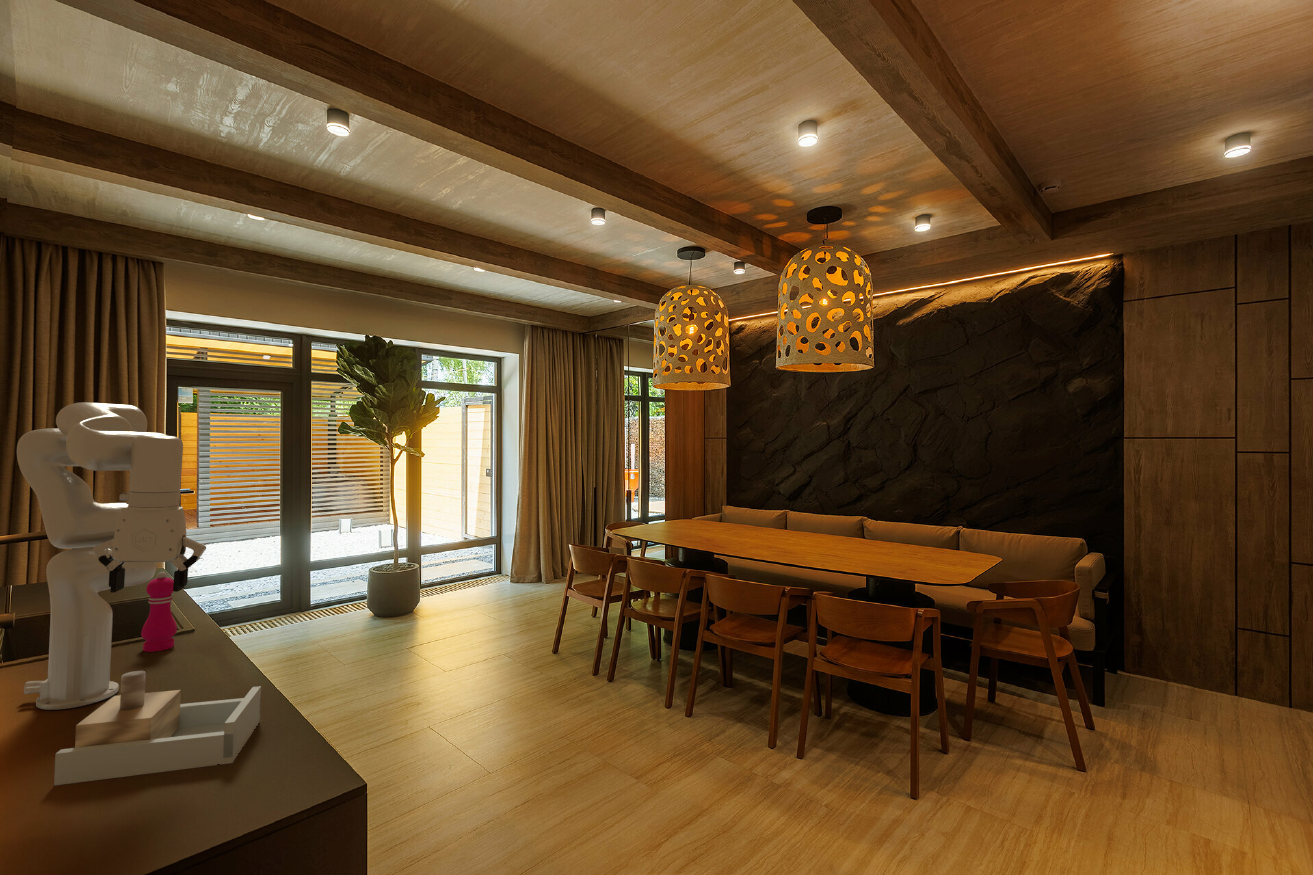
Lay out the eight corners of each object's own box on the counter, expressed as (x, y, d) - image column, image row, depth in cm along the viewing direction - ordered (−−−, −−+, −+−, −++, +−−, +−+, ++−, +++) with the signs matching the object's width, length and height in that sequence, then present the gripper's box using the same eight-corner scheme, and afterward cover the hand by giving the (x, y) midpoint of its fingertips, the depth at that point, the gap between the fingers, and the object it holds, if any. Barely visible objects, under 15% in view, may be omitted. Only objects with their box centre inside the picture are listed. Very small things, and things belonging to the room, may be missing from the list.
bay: (54, 785, 95) (56, 740, 95) (107, 738, 110) (109, 699, 110) (232, 762, 103) (234, 721, 103) (259, 721, 118) (261, 686, 118)
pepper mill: (155, 653, 153) (159, 575, 153) (133, 651, 154) (136, 573, 155) (183, 644, 160) (186, 569, 160) (161, 642, 161) (164, 568, 162)
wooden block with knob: (74, 768, 97) (77, 690, 97) (112, 734, 108) (115, 664, 109) (149, 759, 100) (152, 684, 101) (179, 727, 112) (182, 659, 112)
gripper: (85, 501, 107) (79, 596, 107) (199, 504, 112) (193, 594, 112) (109, 496, 114) (103, 585, 114) (215, 499, 119) (210, 584, 119)
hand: (148, 590), depth 113 cm, fingers open, 9 cm apart
